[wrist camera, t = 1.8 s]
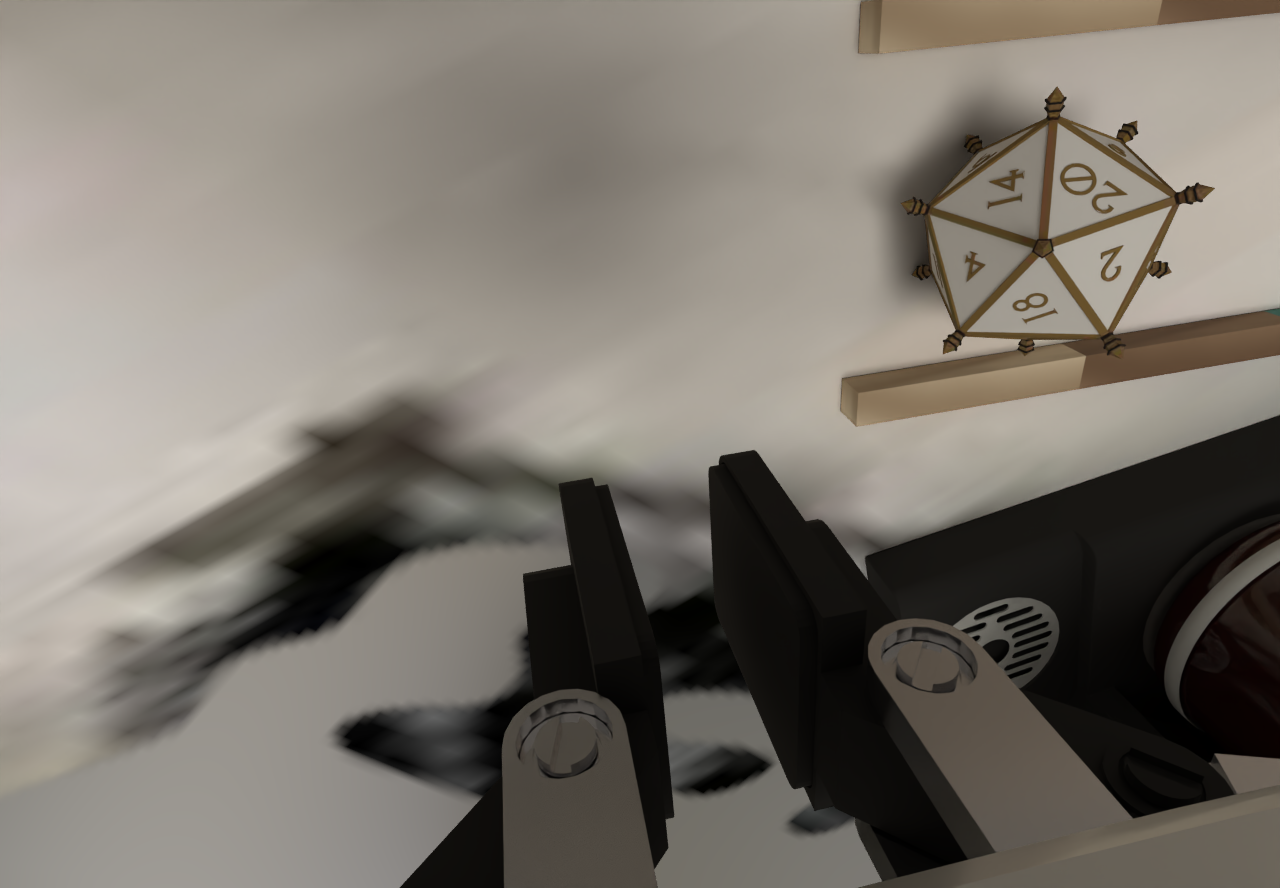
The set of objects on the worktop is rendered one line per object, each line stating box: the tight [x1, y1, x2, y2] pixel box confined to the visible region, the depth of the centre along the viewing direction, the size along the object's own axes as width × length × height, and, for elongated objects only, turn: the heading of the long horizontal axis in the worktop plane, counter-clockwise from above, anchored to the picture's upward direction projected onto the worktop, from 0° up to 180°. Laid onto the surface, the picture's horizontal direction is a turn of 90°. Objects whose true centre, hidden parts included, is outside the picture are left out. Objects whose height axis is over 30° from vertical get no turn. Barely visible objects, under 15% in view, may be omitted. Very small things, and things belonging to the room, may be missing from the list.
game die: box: [901, 87, 1215, 360], centre depth 26 cm, size 9×8×10 cm
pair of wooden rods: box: [841, 0, 1280, 427], centre depth 30 cm, size 15×30×2 cm, turn 95°
